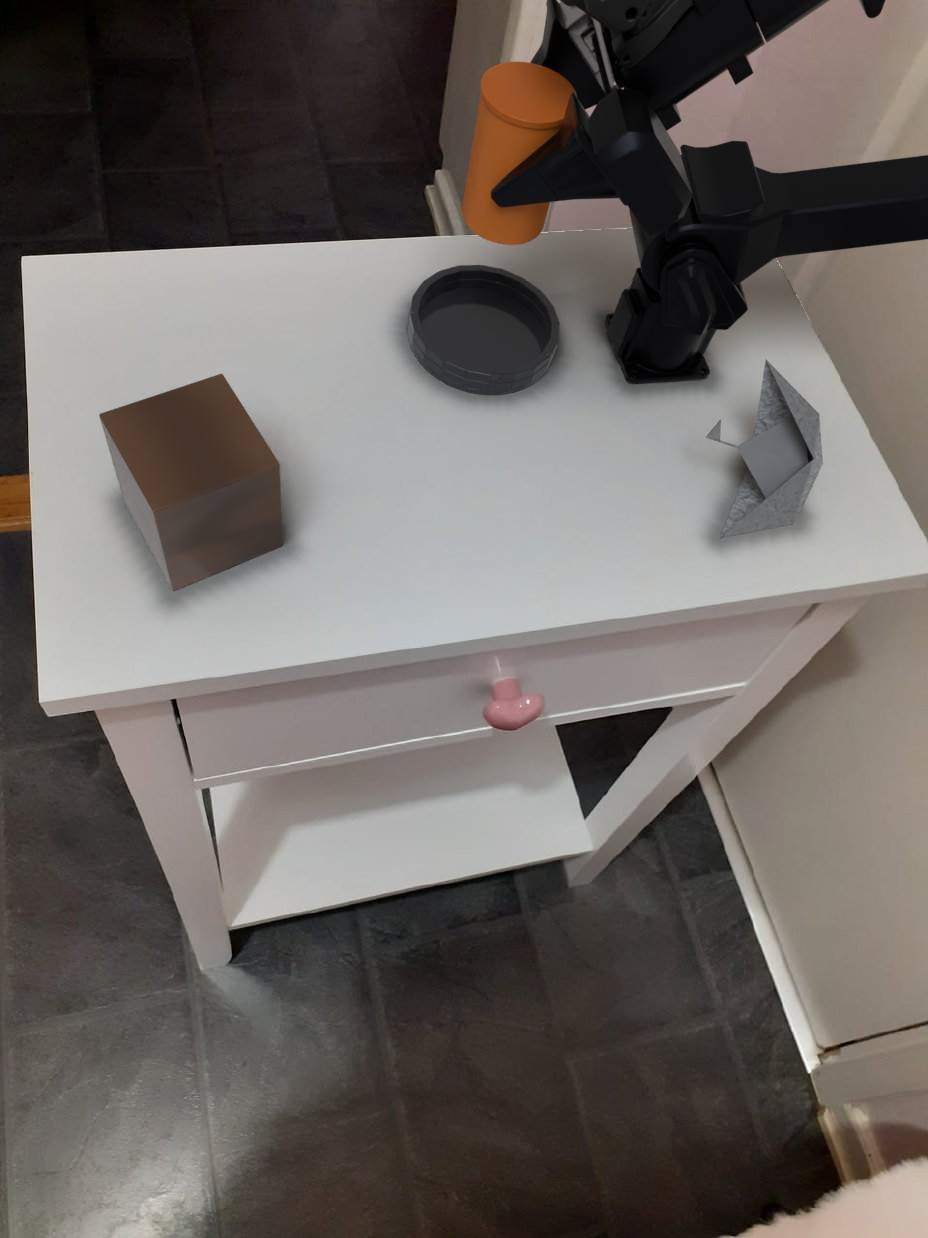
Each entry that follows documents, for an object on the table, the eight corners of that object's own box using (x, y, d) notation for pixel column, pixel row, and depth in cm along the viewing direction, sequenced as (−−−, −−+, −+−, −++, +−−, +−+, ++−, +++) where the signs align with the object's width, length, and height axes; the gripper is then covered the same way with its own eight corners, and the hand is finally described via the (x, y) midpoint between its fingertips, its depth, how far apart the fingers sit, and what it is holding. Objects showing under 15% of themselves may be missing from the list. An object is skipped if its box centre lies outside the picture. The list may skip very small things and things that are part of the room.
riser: (232, 462, 58) (222, 372, 51) (283, 546, 56) (280, 463, 49) (124, 502, 56) (98, 413, 49) (172, 591, 53) (153, 511, 46)
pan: (533, 283, 70) (538, 262, 68) (569, 390, 65) (576, 370, 64) (395, 288, 68) (398, 266, 66) (423, 399, 63) (426, 379, 61)
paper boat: (830, 561, 60) (714, 528, 57) (766, 557, 66) (658, 526, 63) (874, 380, 60) (760, 336, 56) (806, 391, 66) (699, 352, 62)
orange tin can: (553, 202, 59) (586, 78, 52) (535, 256, 56) (566, 133, 49) (472, 177, 59) (494, 50, 52) (449, 230, 56) (469, 103, 49)
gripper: (635, -257, 45) (392, -35, 53) (717, -50, 36) (411, 179, 44) (724, -59, 53) (502, 108, 61) (808, 150, 44) (537, 313, 52)
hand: (489, 168), depth 54 cm, fingers closed on orange tin can, 5 cm apart
